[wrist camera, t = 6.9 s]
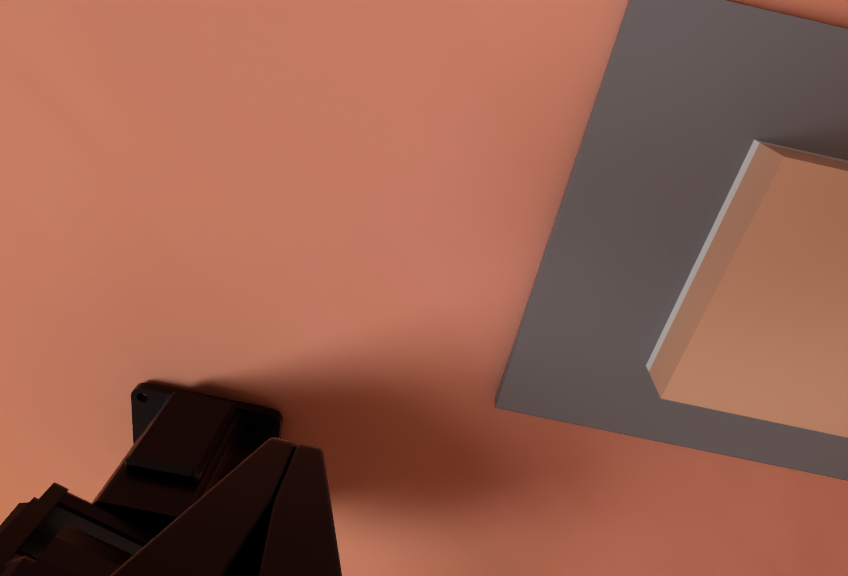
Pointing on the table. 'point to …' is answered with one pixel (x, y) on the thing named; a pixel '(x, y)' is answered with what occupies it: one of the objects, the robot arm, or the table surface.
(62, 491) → the robot arm
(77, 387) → the table surface
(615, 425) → the mat
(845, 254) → the tile
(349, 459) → the table surface
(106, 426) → the table surface
